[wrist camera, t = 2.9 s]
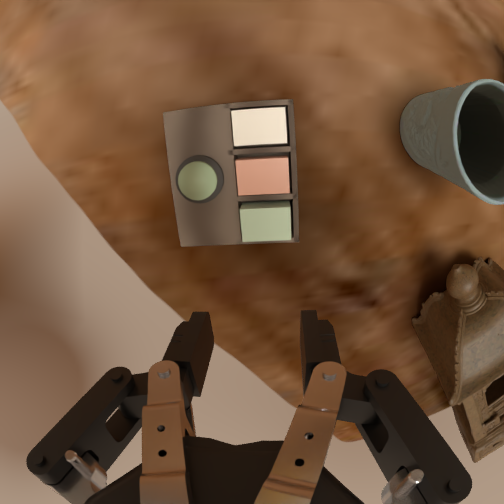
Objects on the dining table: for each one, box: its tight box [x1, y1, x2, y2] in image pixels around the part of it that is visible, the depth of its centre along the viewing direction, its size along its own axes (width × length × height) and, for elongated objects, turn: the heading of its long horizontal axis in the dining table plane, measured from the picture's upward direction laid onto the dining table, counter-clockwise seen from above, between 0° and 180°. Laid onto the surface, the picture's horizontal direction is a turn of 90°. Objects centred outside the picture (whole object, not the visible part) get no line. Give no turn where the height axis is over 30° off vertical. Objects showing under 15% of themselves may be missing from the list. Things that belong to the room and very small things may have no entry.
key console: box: [163, 99, 299, 247], centre depth 28 cm, size 12×14×4 cm
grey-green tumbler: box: [400, 79, 504, 205], centre depth 21 cm, size 10×10×12 cm
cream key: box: [231, 107, 287, 146], centre depth 25 cm, size 5×3×2 cm
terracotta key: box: [235, 155, 290, 196], centre depth 27 cm, size 5×3×2 cm
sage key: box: [240, 201, 291, 242], centre depth 29 cm, size 5×3×2 cm
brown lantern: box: [412, 257, 504, 463], centre depth 29 cm, size 35×18×18 cm, turn 40°
